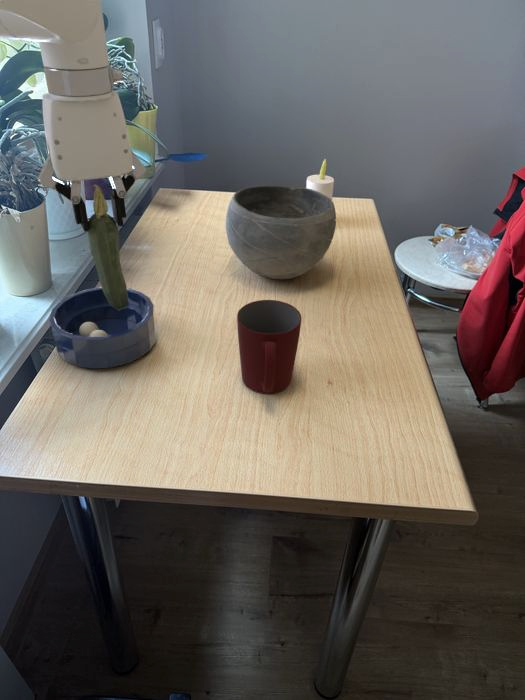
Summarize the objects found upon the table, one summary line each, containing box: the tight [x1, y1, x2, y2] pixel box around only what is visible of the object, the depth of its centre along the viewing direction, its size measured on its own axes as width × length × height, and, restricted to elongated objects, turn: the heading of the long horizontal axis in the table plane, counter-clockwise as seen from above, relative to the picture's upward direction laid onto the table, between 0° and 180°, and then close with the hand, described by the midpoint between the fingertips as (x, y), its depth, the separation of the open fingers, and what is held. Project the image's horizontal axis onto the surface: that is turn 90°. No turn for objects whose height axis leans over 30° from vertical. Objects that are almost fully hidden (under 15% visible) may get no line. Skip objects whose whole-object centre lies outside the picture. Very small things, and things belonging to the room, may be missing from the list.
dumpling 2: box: [89, 330, 108, 337], centre depth 83 cm, size 3×3×3 cm
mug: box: [236, 299, 302, 395], centre depth 75 cm, size 12×9×11 cm
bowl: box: [225, 184, 337, 280], centre depth 104 cm, size 21×21×15 cm
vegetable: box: [86, 184, 128, 311], centre depth 78 cm, size 4×4×20 cm
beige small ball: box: [79, 322, 99, 337], centre depth 84 cm, size 3×3×3 cm
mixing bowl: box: [48, 286, 158, 369], centre depth 84 cm, size 16×16×6 cm
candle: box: [305, 158, 335, 201], centre depth 125 cm, size 6×6×15 cm
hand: (101, 224), depth 75 cm, fingers closed on vegetable, 4 cm apart
